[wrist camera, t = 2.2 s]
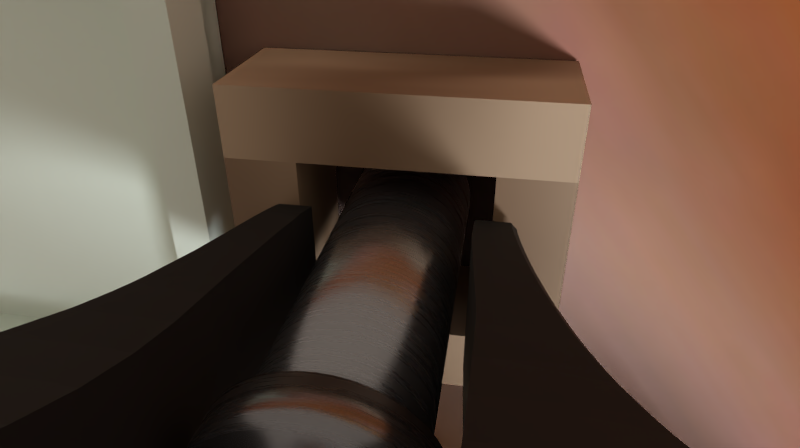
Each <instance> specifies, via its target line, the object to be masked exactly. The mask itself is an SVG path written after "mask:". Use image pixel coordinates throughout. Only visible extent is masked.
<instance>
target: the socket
mask: <svg viewBox="0 0 800 448" xmlns="http://www.w3.org/2000/svg"><path fill="white" fill-rule="evenodd" d="M212 87H213V93H214V99H215V106H216V112H217V118H218V124H219V131H220V137H221V143H222V149H223V156H224V162H225V168H226V174H227V181H228V187H229V193H230V200H231V206H232V212H233V218H234V225H235V227H236V226H238V225H240V224H241V223H243V222H245V221H247V220H248V219H250V218H252V217H254V216H255V215H257V214H259V213H261V212H263V211H265V210H266V209H268V208H270V207H273V206H275V205H277V204H289V205H301V206H312V217H313V229H314V241H315V252H316V260H317V258H318V257H319V255H320V253H321V251H322V249H323V247H324V245H325V243H326V241H327V239H328V237H329V236H330V234H331V232H332V230H333V228H334V226H335V224H336V222H337V220H338V218H339V211H338V195H337V178H336V166H347V167H361V168H375V169H389V170H403V171H417V172H431V173H444V174H458V175H472V176H486V177H496V188H495V199H494V211H493V221H495V222H507V223H512V224H513V226H514V227H515V228H516V229H517V232H518V235H519V238H520V241H521V244H522V246H523V248H524V251H525V253H526V255H527V257H528V259H529V261H530V263H531V265H532V267H533V269H534V271H535V273H536V274H537V276H538V278H539V280H540V281H541V283H542V285H543V286H544V288H545V290H546V292H547V293H548V295H549V297H550V298H551V300H552V301H553V303H554V304H555V306H556V307H557V309H559V303H560V297H561V291H562V284H563V278H564V272H565V266H566V260H567V253H568V247H569V241H570V235H571V229H572V222H573V216H574V210H575V204H576V198H577V191H578V185H579V179H580V173H581V167H582V160H583V154H584V148H585V142H586V136H587V129H588V123H589V117H590V111H591V101H590V98H589V94H588V91H587V88H586V84H585V81H584V77H583V74H582V70H581V67H580V64H579V61H564V60H541V59H518V58H495V57H472V56H448V55H425V54H402V53H379V52H356V51H332V50H309V49H286V48H263V49H262V50H261V51H259V52H258V53H256V54H255V55H253V56H252V57H251V58H249V59H248V60H246V61H245V62H243V63H242V64H241V65H239V66H238V67H236V68H235V69H233V70H232V71H231V72H229V73H228V74H226V75H225V76H223V77H222V78H221V79H219V80H218V81H216V82H215V83H213V84H212ZM469 267H470V266H460V270H459V277H458V283H457V290H456V296H455V303H454V309H453V315H452V322H451V328H450V335H449V341H448V348H447V354H446V360H445V367H444V373H443V380H442V384H448V385H457V386H463V358H464V343H465V328H466V313H467V297H468V282H469Z"/></svg>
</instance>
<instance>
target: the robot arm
mask: <svg viewBox="0 0 800 448" xmlns="http://www.w3.org/2000/svg"><path fill="white" fill-rule="evenodd" d="M315 262H316V252H315V241H314V229H313V217H312V206H301V205H289V204H277V205H275V206H273V207H270V208H268V209H266V210H265V211H263V212H261V213H259V214H257V215H255V216H254V217H252V218H250V219H248V220H247V221H245V222H243V223H241V224H240V225H238V226H236V227H234V228H233V229H231V230H229V231H228V232H226V233H224V234H222V235H221V236H219V237H217V238H215V239H214V240H212V241H210V242H208V243H207V244H205V245H203V246H201V247H200V248H198V249H196V250H194V251H192V252H190V253H188V254H187V255H185V256H183V257H181V258H179V259H177V260H175V261H173V262H171V263H169V264H167V265H165V266H163V267H161V268H160V269H158V270H156V271H154V272H152V273H150V274H148V275H146V276H144V277H142V278H140V279H138V280H136V281H133V282H131V283H129V284H127V285H125V286H122V287H120V288H118V289H116V290H114V291H111V292H109V293H106V294H104V295H101V296H99V297H97V298H94V299H92V300H89V301H87V302H85V303H82V304H80V305H77V306H74V307H72V308H69V309H66V310H63V311H60V312H57V313H55V314H52V315H49V316H46V317H43V318H40V319H37V320H34V321H31V322H28V323H25V324H22V325H19V326H17V327H14V328H11V329H8V330H5V331H2V332H0V448H187V446H188V444H189V442H190V441H191V439H192V437H193V436H194V434H195V432H196V430H197V429H198V427H199V425H200V423H201V422H202V420H203V418H204V416H205V415H206V413H207V411H208V410H209V408H210V406H211V405H212V404H213V402H214V401H215V400H216V398H217V397H219V396H220V395H221V394H222V393H223V392H224V391H225V390H227V389H228V388H230V387H231V386H233V385H234V384H236V383H238V382H240V381H243V380H245V379H247V378H250V377H254V376H256V375H257V373H258V371H259V369H260V367H261V366H262V364H263V362H264V360H265V358H266V356H267V354H268V352H269V350H270V348H271V346H272V344H273V343H274V341H275V339H276V337H277V335H278V333H279V331H280V329H281V327H282V325H283V323H284V322H285V320H286V318H287V316H288V314H289V312H290V310H291V308H292V306H293V304H294V302H295V301H296V299H297V297H298V295H299V293H300V291H301V289H302V287H303V285H304V283H305V281H306V280H307V278H308V276H309V274H310V272H311V270H312V268H313V266H314V264H315ZM461 448H689V447H688V446H687V445H685V444H684V443H683V442H682V441H680V440H679V439H678V438H677V437H675V436H674V435H673V434H672V433H671V432H669V431H668V430H667V429H666V428H665V427H664V426H663V425H661V424H660V423H659V422H658V421H657V420H656V419H655V418H653V417H652V416H651V415H650V414H649V413H648V412H647V411H646V410H645V409H644V408H643V407H642V406H641V405H640V404H639V403H638V402H636V401H635V400H634V399H633V398H632V397H631V396H630V395H629V394H628V393H627V392H626V391H625V390H624V389H623V388H622V387H621V386H620V385H619V384H618V383H617V382H616V381H615V380H614V379H613V378H612V377H611V376H610V375H609V374H608V373H607V372H606V371H605V369H604V368H603V367H602V366H601V365H600V364H599V362H598V361H597V360H596V359H595V358H594V357H593V355H592V354H591V353H590V352H589V351H588V350H587V348H586V347H585V346H584V345H583V343H582V342H581V341H580V340H579V338H578V337H577V336H576V334H575V333H574V332H573V330H572V329H571V328H570V326H569V325H568V323H567V322H566V320H565V319H564V318H563V316H562V315H561V313H560V312H559V311H558V309H557V307H556V306H555V304H554V303H553V301H552V300H551V298H550V297H549V295H548V293H547V292H546V290H545V288H544V286H543V285H542V283H541V281H540V280H539V278H538V276H537V274H536V273H535V271H534V269H533V267H532V265H531V263H530V261H529V259H528V257H527V255H526V253H525V251H524V248H523V246H522V244H521V241H520V238H519V235H518V232H517V229H516V228H515V227H514V226H513V224H512V223H507V222H495V221H483V220H475V222H474V226H473V231H472V237H471V252H470V267H469V282H468V297H467V313H466V328H465V343H464V358H463V438H462V446H461Z"/></svg>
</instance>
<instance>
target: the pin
mask: <svg viewBox="0 0 800 448" xmlns="http://www.w3.org/2000/svg"><path fill="white" fill-rule="evenodd" d="M470 199H471V196H470V186H469V183H468V179H467V177H466V175H458V174H444V173H431V172H417V171H403V170H389V169H375V168H365V169H364V171H363V172H362V174H361V176H360V178H359V180H358V182H357V184H356V186H355V188H354V190H353V192H352V193H351V195H350V197H349V199H348V201H347V203H346V205H345V207H344V209H343V211H342V213H341V215H340V216H339V218H338V220H337V222H336V224H335V226H334V228H333V230H332V232H331V234H330V236H329V237H328V239H327V241H326V243H325V245H324V247H323V249H322V251H321V253H320V255H319V257H318V258H317V260H316V262H315V264H314V266H313V268H312V270H311V272H310V274H309V276H308V278H307V280H306V281H305V283H304V285H303V287H302V289H301V291H300V293H299V295H298V297H297V299H296V301H295V302H294V304H293V306H292V308H291V310H290V312H289V314H288V316H287V318H286V320H285V322H284V323H283V325H282V327H281V329H280V331H279V333H278V335H277V337H276V339H275V341H274V343H273V344H272V346H271V348H270V350H269V352H268V354H267V356H266V358H265V360H264V362H263V364H262V366H261V367H260V369H259V371H258V373H257V375H256V376H254V377H250V378H247V379H245V380H243V381H240V382H238V383H236V384H234V385H233V386H231V387H230V388H228V389H227V390H225V391H224V392H223V393H222V394H221V395H220V396H219V397H217V398H216V400H215V401H214V402H213V404H212V405H211V406H210V408H209V410H208V411H207V413H206V415H205V416H204V418H203V420H202V422H201V423H200V425H199V427H198V429H197V430H196V432H195V434H194V436H193V437H192V439H191V441H190V442H189V444H188V446H187V448H442V446H441V444H440V443H439V441H438V439H437V438H436V437H435V436H434V431H435V425H436V418H437V412H438V405H439V399H440V392H441V386H442V380H443V373H444V367H445V360H446V354H447V348H448V341H449V335H450V328H451V322H452V315H453V309H454V303H455V296H456V290H457V283H458V277H459V270H460V264H461V258H462V251H463V245H464V238H465V232H466V225H467V219H468V213H469V206H470Z"/></svg>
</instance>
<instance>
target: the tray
mask: <svg viewBox="0 0 800 448" xmlns="http://www.w3.org/2000/svg"><path fill="white" fill-rule="evenodd" d="M225 75H226V72H225V65H224V58H223V52H222V45H221V38H220V31H219V24H218V18H217V11H216V4H215V0H0V332H2V331H5V330H8V329H11V328H14V327H17V326H19V325H22V324H25V323H28V322H31V321H34V320H37V319H40V318H43V317H46V316H49V315H52V314H55V313H57V312H60V311H63V310H66V309H69V308H72V307H74V306H77V305H80V304H82V303H85V302H87V301H89V300H92V299H94V298H97V297H99V296H101V295H104V294H106V293H109V292H111V291H114V290H116V289H118V288H120V287H122V286H125V285H127V284H129V283H131V282H133V281H136V280H138V279H140V278H142V277H144V276H146V275H148V274H150V273H152V272H154V271H156V270H158V269H160V268H161V267H163V266H165V265H167V264H169V263H171V262H173V261H175V260H177V259H179V258H181V257H183V256H185V255H187V254H188V253H190V252H192V251H194V250H196V249H198V248H200V247H201V246H203V245H205V244H207V243H208V242H210V241H212V240H214V239H215V238H217V237H219V236H221V235H222V234H224V233H226V232H228V231H229V230H231V229H233V228H234V227H235V225H234V218H233V212H232V206H231V200H230V193H229V187H228V181H227V174H226V168H225V162H224V156H223V149H222V143H221V137H220V131H219V124H218V118H217V112H216V106H215V99H214V93H213V87H212V84H213V83H215V82H216V81H218V80H219V79H221V78H222V77H223V76H225Z"/></svg>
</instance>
